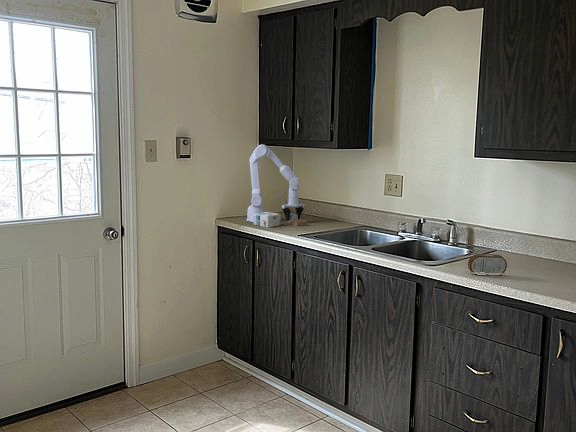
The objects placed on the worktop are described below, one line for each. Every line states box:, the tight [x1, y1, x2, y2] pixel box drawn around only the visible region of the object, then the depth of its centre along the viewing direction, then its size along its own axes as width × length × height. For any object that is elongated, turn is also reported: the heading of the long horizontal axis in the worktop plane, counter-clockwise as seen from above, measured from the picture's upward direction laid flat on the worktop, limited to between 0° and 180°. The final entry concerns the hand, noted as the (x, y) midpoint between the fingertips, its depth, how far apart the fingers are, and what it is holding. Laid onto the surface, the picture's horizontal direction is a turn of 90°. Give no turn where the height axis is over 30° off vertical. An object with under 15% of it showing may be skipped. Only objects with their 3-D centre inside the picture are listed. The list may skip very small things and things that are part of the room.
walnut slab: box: [289, 218, 308, 227], centre depth 339 cm, size 7×7×3 cm
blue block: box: [287, 213, 298, 223], centre depth 346 cm, size 4×4×5 cm
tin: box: [467, 253, 508, 274], centre depth 237 cm, size 15×3×8 cm, turn 93°
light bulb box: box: [253, 211, 281, 229], centre depth 334 cm, size 11×7×11 cm
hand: (292, 220), depth 346 cm, fingers open, 7 cm apart
